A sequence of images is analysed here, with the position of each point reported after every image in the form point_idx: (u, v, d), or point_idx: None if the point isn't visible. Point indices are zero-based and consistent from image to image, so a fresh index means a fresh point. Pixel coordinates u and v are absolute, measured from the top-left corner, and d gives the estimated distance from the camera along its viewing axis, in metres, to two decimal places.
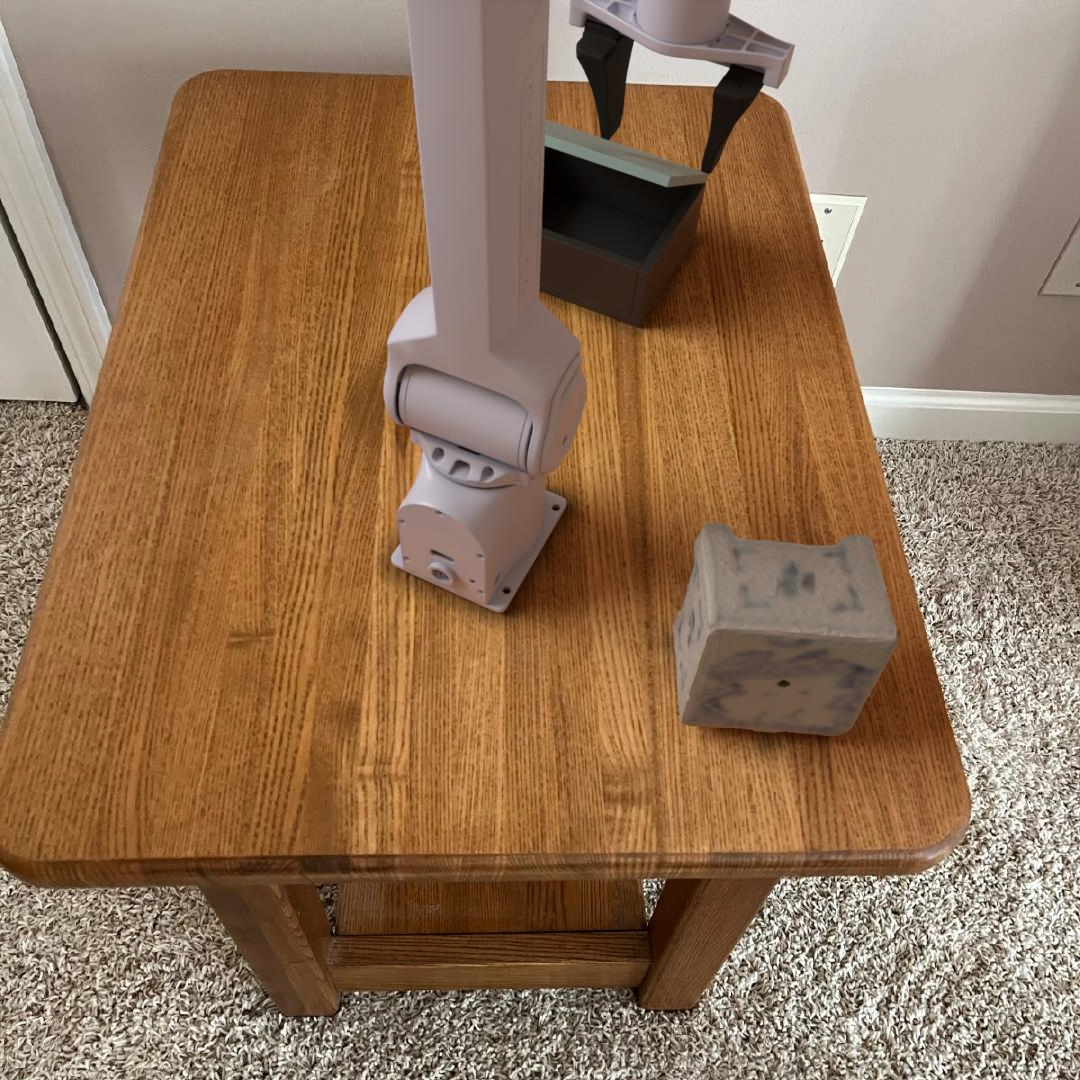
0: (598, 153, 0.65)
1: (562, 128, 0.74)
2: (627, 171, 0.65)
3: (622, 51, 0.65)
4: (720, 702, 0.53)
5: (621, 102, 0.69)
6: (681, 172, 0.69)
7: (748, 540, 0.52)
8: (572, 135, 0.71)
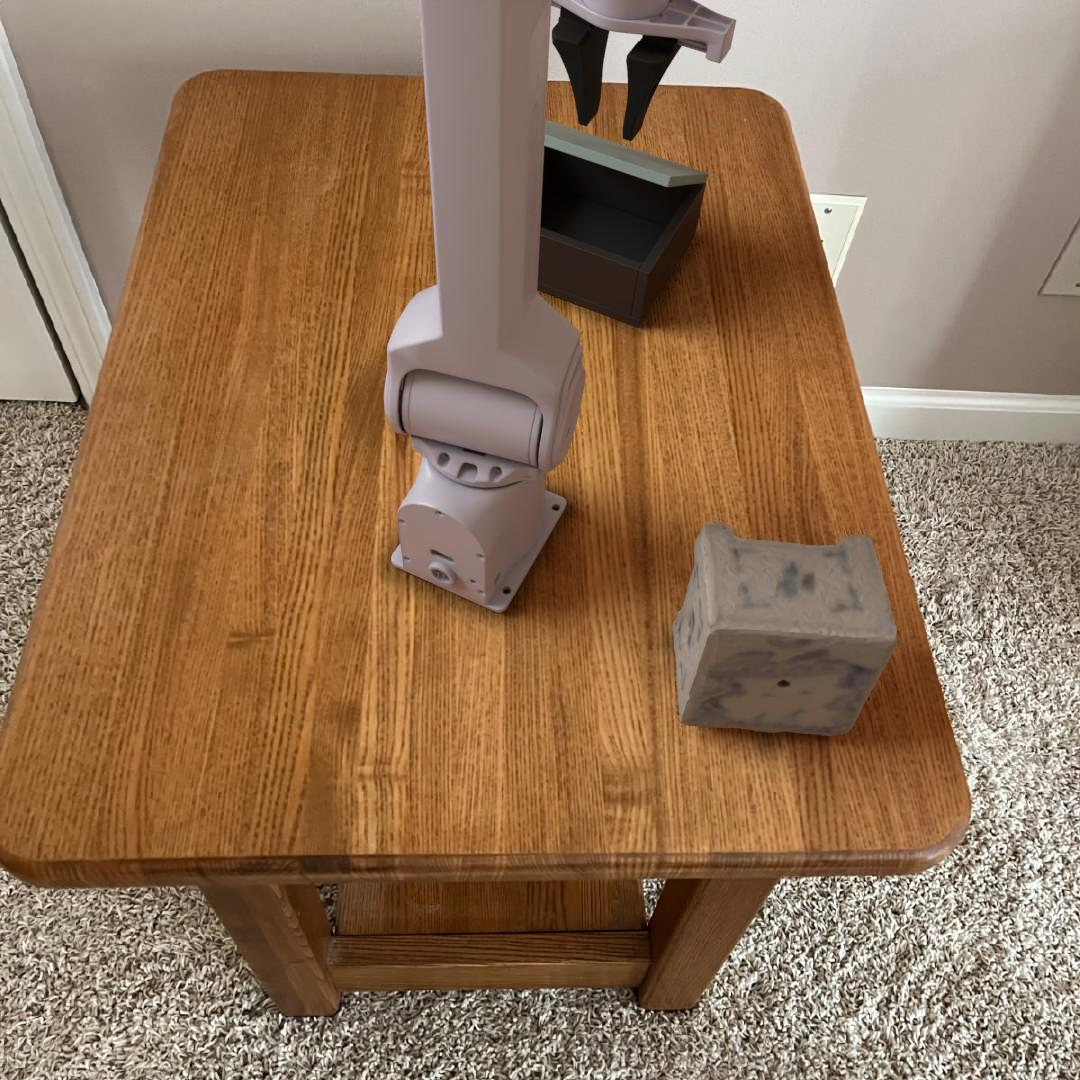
0: (598, 153, 0.65)
1: (562, 128, 0.74)
2: (627, 171, 0.65)
3: (598, 37, 0.66)
4: (720, 702, 0.53)
5: (599, 88, 0.69)
6: (681, 172, 0.69)
7: (748, 540, 0.52)
8: (572, 135, 0.71)
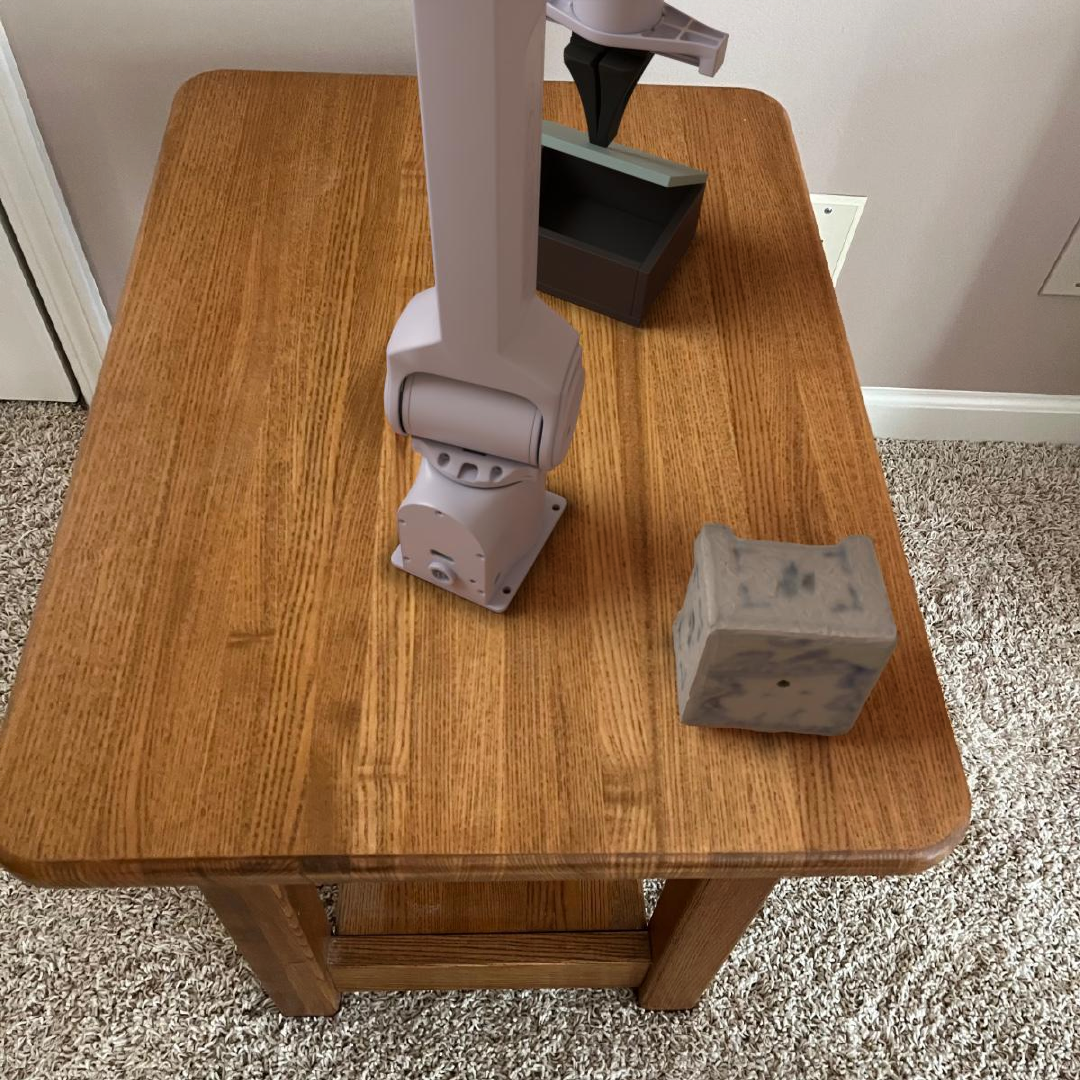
0: (598, 153, 0.65)
1: (562, 128, 0.74)
2: (627, 171, 0.65)
3: None
4: (720, 702, 0.53)
5: None
6: (681, 172, 0.69)
7: (748, 540, 0.52)
8: (572, 135, 0.71)
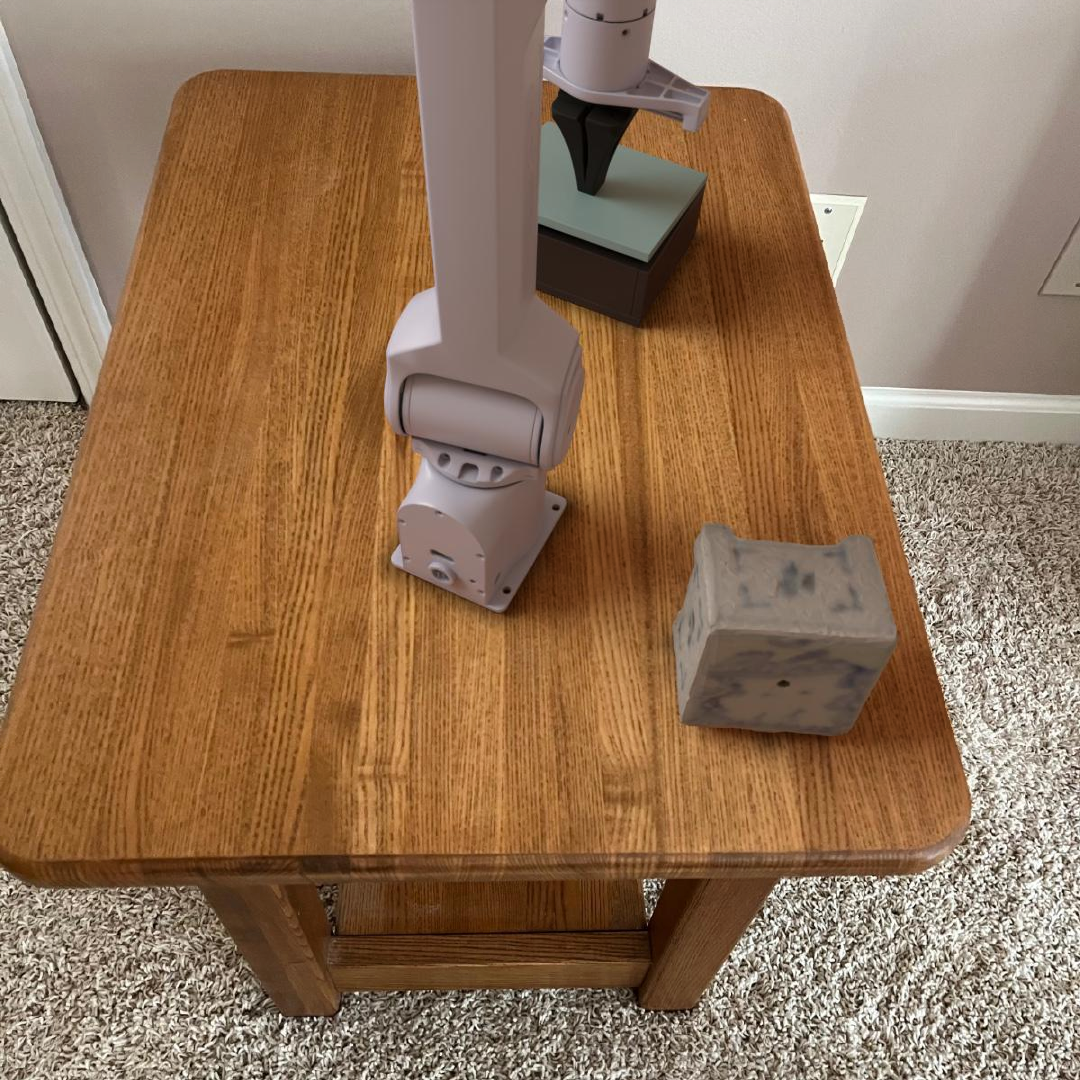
0: (580, 230, 0.68)
1: (557, 148, 0.75)
2: (609, 247, 0.68)
3: None
4: (720, 702, 0.53)
5: None
6: (669, 214, 0.70)
7: (748, 540, 0.52)
8: (564, 174, 0.73)
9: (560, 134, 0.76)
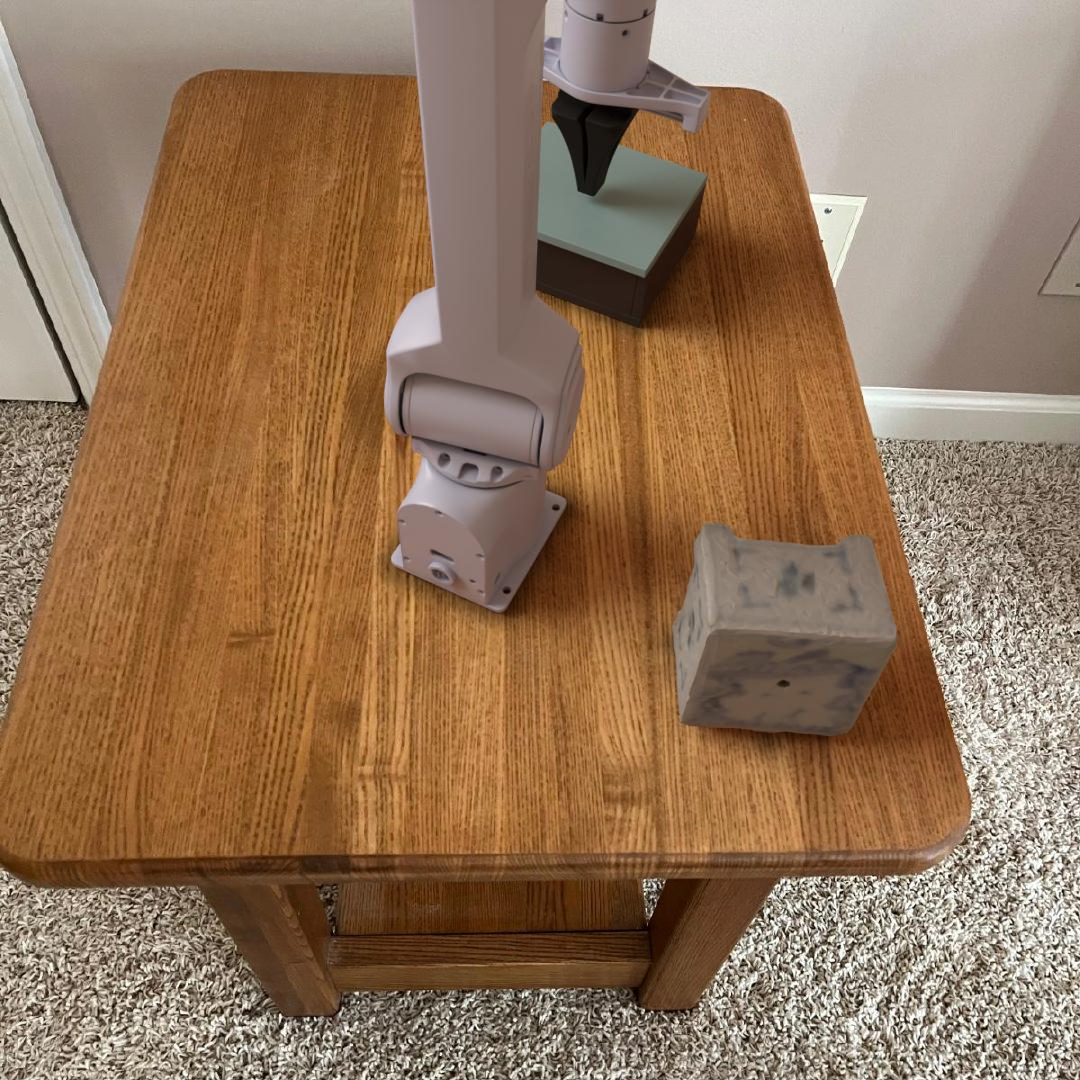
0: (578, 247, 0.69)
1: (557, 153, 0.75)
2: (607, 263, 0.69)
3: None
4: (720, 702, 0.53)
5: None
6: (667, 223, 0.71)
7: (748, 540, 0.52)
8: (562, 182, 0.73)
9: (560, 136, 0.76)
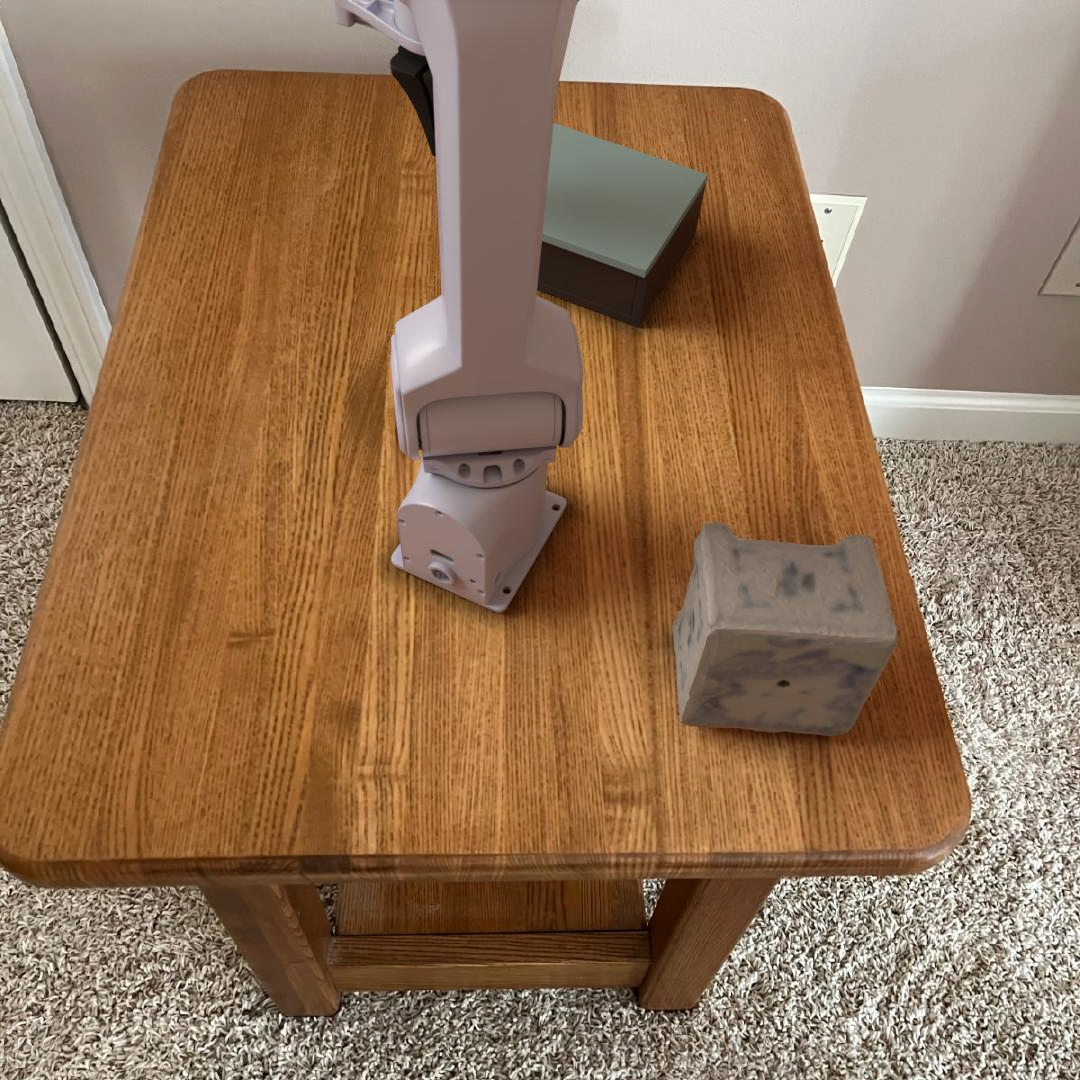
0: (578, 247, 0.69)
1: (557, 153, 0.75)
2: (607, 263, 0.69)
3: None
4: (720, 702, 0.53)
5: None
6: (667, 223, 0.71)
7: (748, 540, 0.52)
8: (562, 182, 0.73)
9: (560, 136, 0.76)
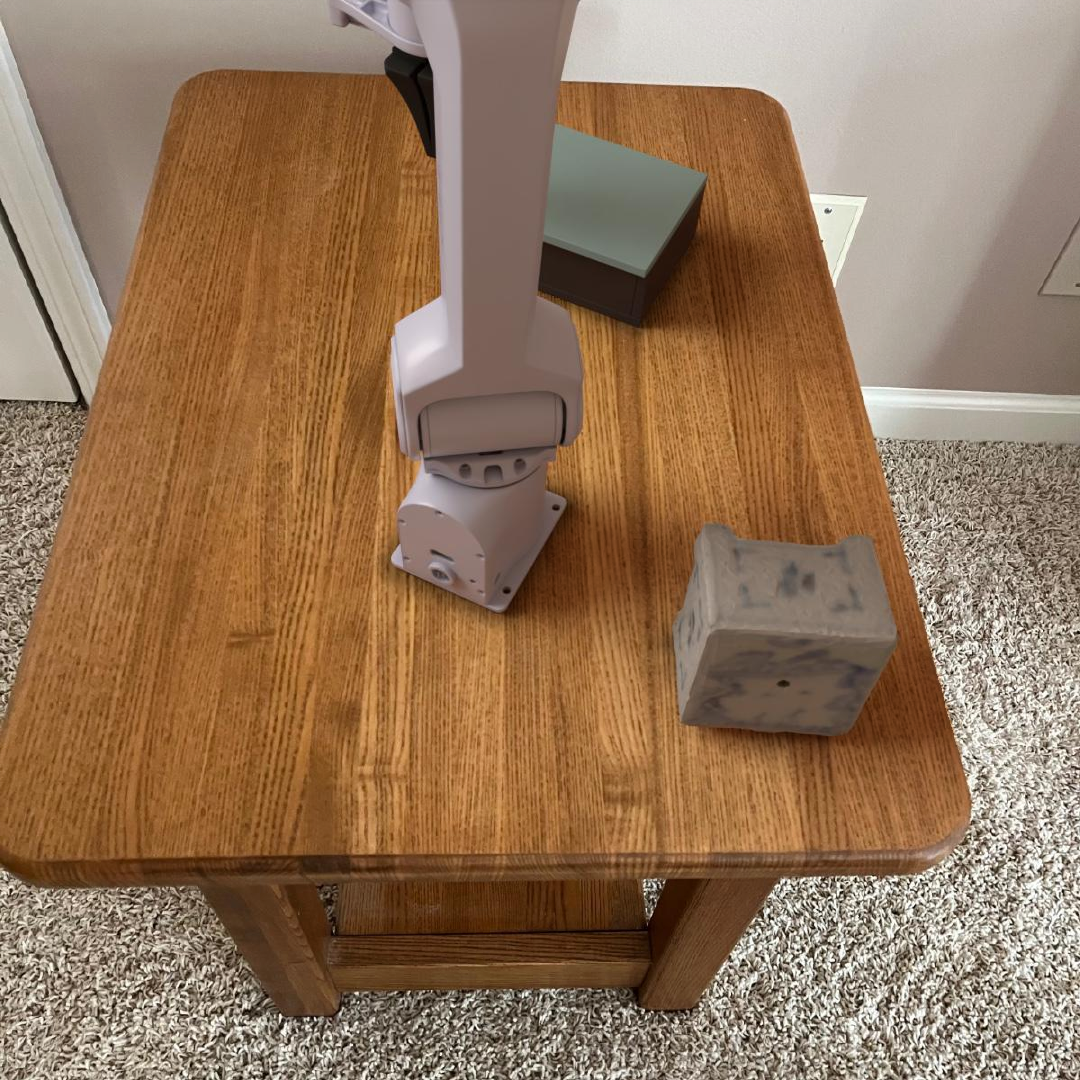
0: (578, 247, 0.69)
1: (557, 153, 0.75)
2: (607, 263, 0.69)
3: None
4: (720, 702, 0.53)
5: None
6: (667, 223, 0.71)
7: (748, 540, 0.52)
8: (562, 182, 0.73)
9: (560, 136, 0.76)
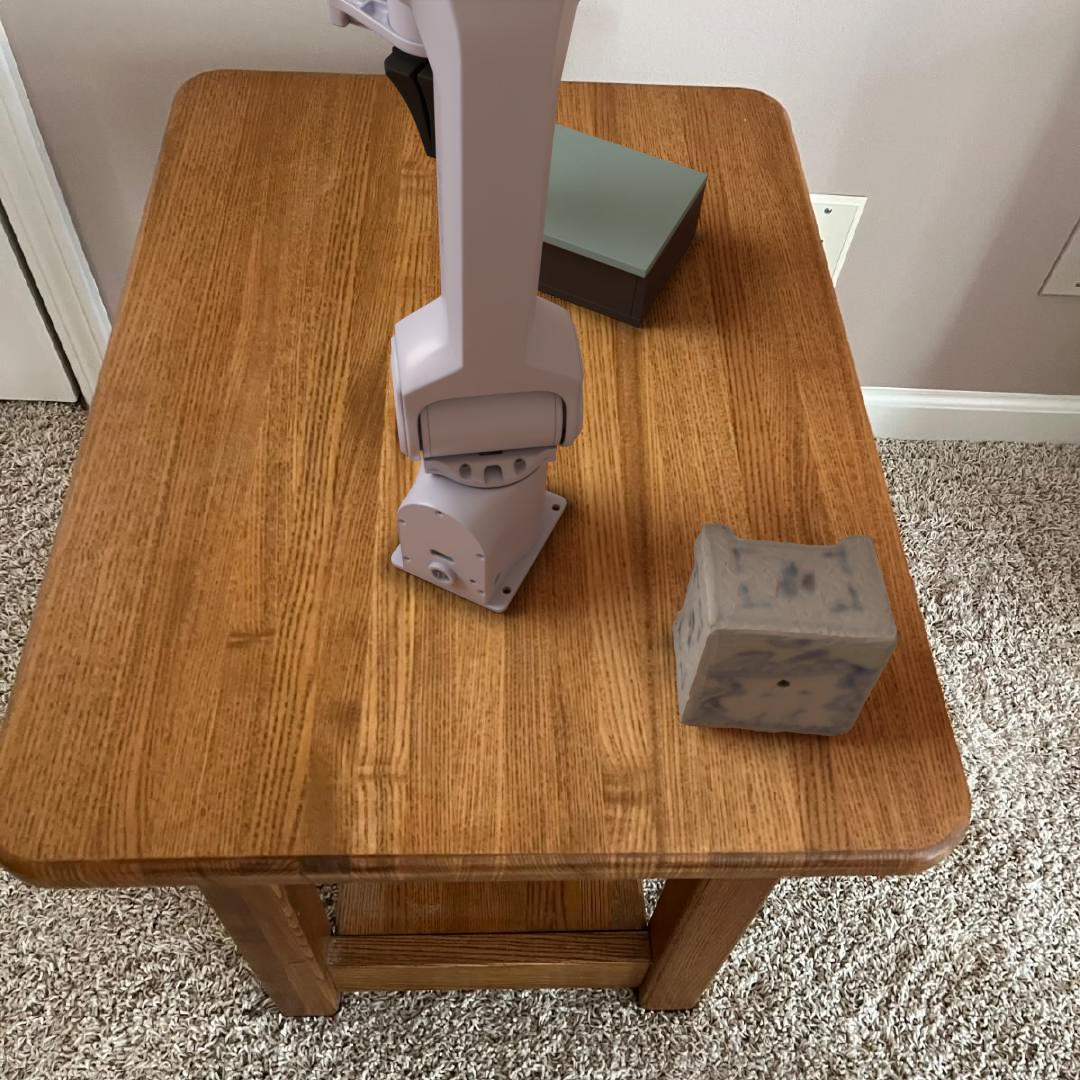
0: (578, 247, 0.69)
1: (557, 153, 0.75)
2: (607, 263, 0.69)
3: None
4: (720, 702, 0.53)
5: None
6: (667, 223, 0.71)
7: (748, 540, 0.52)
8: (562, 182, 0.73)
9: (560, 136, 0.76)
